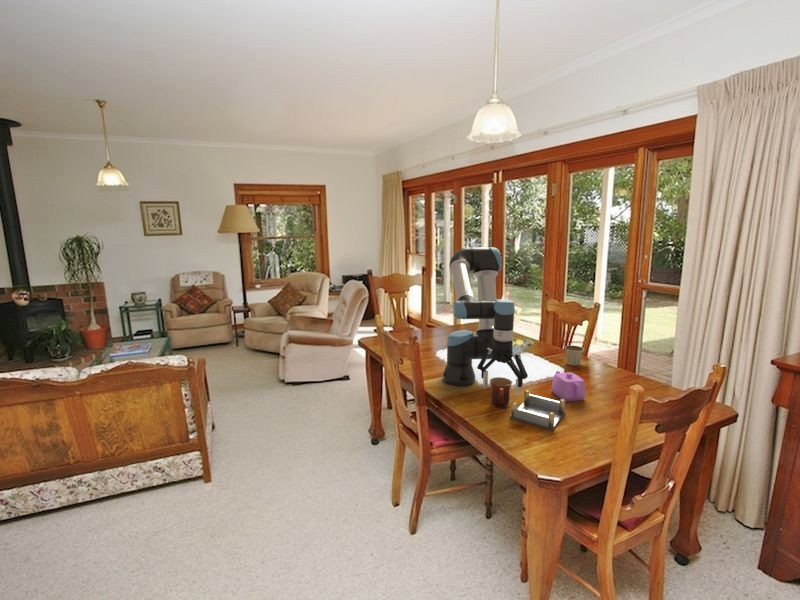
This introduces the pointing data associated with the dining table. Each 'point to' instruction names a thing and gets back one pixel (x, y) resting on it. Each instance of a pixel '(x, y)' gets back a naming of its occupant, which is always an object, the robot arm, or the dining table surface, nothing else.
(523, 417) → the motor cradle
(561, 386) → the teapot
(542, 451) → the dining table surface
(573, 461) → the dining table surface
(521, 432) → the dining table surface
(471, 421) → the dining table surface
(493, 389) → the mug
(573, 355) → the flower pot
